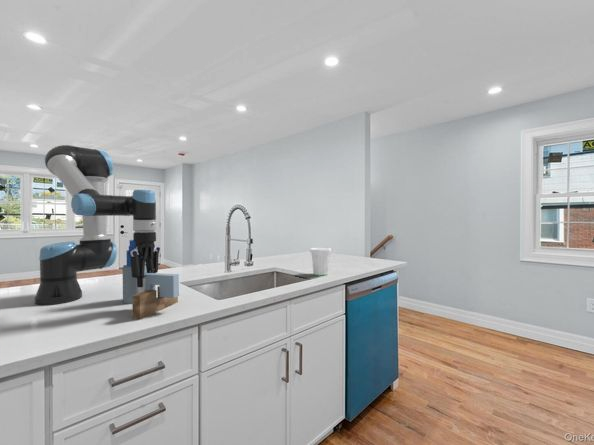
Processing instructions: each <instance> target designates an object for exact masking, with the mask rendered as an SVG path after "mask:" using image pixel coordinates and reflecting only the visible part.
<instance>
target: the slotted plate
mask: <svg viewBox="0 0 594 445" xmlns="http://www.w3.org/2000/svg"><path fill="white" fill-rule="evenodd" d="M179 277H180V276H179V273H178V274H177V273H162V272H161V273H160V272H157V273H144V278H146V291H147V290H156V286H159V293H160V297H165V298H175V297H177V296H178V297H179V296H180V286H179V285H180V282H179V279H180V278H179ZM136 294H138V287H137V278H136Z"/></svg>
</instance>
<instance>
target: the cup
mask: <svg viewBox="0 0 594 445" xmlns="http://www.w3.org/2000/svg"><path fill="white" fill-rule="evenodd" d="M309 252H310V253H311V261H312V270H313V273H312V274H313V276H318V277H325V276H328V274H329V273H328V272H329V262H330V254H331V252H332V248H330V247H311V248H309Z"/></svg>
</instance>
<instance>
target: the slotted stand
mask: <svg viewBox="0 0 594 445" xmlns="http://www.w3.org/2000/svg"><path fill="white" fill-rule="evenodd" d="M178 298H179V296H177V297H175V298H165V297H160V293H159V285H157V288H156V289H155V290H147V291H144V292H141V293H138V294H135V295H132V304H131V305H132V319H133V320H143V319H145V318H147V317H149V316H152V315H153V314H155V313H157V312H160V311H162V310H164V309H166V308H168V307H170V306H173V305H175V304H177V303H178V302H179V299H178Z"/></svg>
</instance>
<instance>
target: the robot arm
mask: <svg viewBox="0 0 594 445" xmlns="http://www.w3.org/2000/svg"><path fill="white" fill-rule="evenodd" d="M44 164H45V167H46V169H47V170H48V171H49V172H50V174H52V175H54V176H56V177H57V178H58V180H59V181H60V183H61V184H62V185H63V186H64V187H65V190H66V191H67V192H68V193H69V194H70V195H71V197H72V198H71V202H70V204H71V206H70V207H71V210H72V213H73V214H74V215H76V216H82V229H83V230H82V232H83V233H82V234H83V236H81V238H80V239H79V244H77V243H76V241H65V242H56V243H51V244H48V245H44V246H42V247H41V248H40V251H39V257H38V259H39V274H40V275H39V276H40V279H39V280H40V282H39V286H38V287H37V291H36V294H35V296H34V304H36V305H41V306H44V305H45V306H47V305H57V304H58V305H59V304H65V303H69V302H73V301H77V300H79V299H81V298H82V297H83V290H82V289H81V288H82V287H81V286H80V284H79V281H78V279H77V278H78V277H77V274H78V272H85V271H91V270H92V271H93V270H98V269H99V270H102V269H105V268H106V269H107V268H110V267H111V266H113V265H114V264H115V262H116V260H117V254H118V248H117V245H116V243H114V242H113V241H112V240H111V237H109V236H108V235H107V219H106V218H107V216H112V217H113V216H114V217H115V216H118V217H119V216H123V217H130V216H132V217H133V218H132V230H133V231H134V232H133V234H132V236H133V238H132V240H133V241H134V242H135V249H134V250H132V251H129V256H130V260H131V271H132V277H134V278H137V287H138V293H141V292H144V291H146V278H144V270H145V264H146V270H147V273H159V272H158V271H159V257H160V256H159V254H160V251H161V247H158V246H156V244H155V242H156V241H157V232H155V231H156V230H157V229H156V228H157V227H156V226H157V225H156V220H157V203H156V202H157V200H156V193H155V191H154V190H152V189H151V190H150V189H134V190H133V191H132V194H131V195H130V196H129V195H127V196H126V195H111V194H109V195H108V194H105V183H106V182H107V181H108V180H109V177H110V176H112V175H113V170H114V164H113V160H112V158H111V156H110V155H109V153H107V152H106V151H103V150H100V149H99V150H98V149H95V148H87V147H86V148H85V147H80V146H74V145H70V144H69V145H68V144H65V145H64V144H61V145H58V146H54V147H53V148H52V149H49V151H47V153H46V155H45V157H44Z"/></svg>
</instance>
